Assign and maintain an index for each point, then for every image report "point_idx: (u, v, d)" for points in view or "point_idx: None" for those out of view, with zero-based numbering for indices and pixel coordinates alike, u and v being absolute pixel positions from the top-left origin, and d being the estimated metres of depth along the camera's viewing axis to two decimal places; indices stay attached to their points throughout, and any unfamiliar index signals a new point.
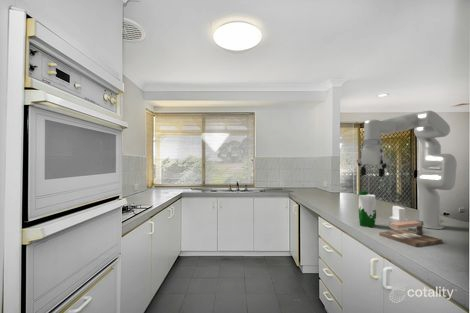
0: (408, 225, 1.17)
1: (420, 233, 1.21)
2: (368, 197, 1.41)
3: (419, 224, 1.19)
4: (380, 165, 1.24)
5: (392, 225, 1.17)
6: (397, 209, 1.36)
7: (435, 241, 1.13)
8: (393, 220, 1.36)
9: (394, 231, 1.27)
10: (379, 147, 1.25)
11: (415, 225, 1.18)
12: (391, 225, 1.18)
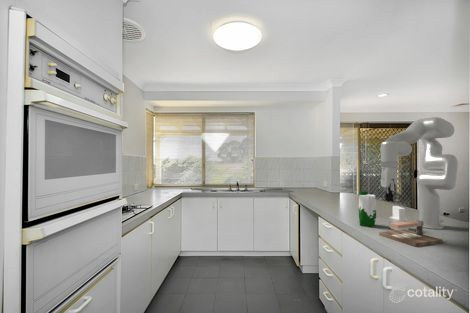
0: (408, 225, 1.17)
1: (420, 233, 1.21)
2: (368, 197, 1.41)
3: (419, 224, 1.19)
4: None
5: (392, 225, 1.17)
6: (397, 209, 1.36)
7: (435, 241, 1.13)
8: (393, 220, 1.36)
9: (394, 231, 1.27)
10: None
11: (415, 225, 1.18)
12: (391, 225, 1.18)
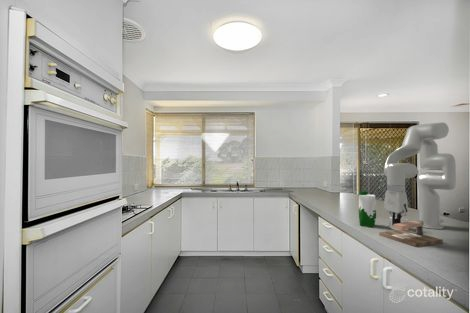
0: (411, 226, 1.16)
1: (420, 233, 1.21)
2: (368, 197, 1.41)
3: (420, 224, 1.19)
4: None
5: (396, 226, 1.15)
6: None
7: (435, 241, 1.13)
8: None
9: (394, 231, 1.27)
10: None
11: (417, 225, 1.18)
12: (395, 226, 1.16)
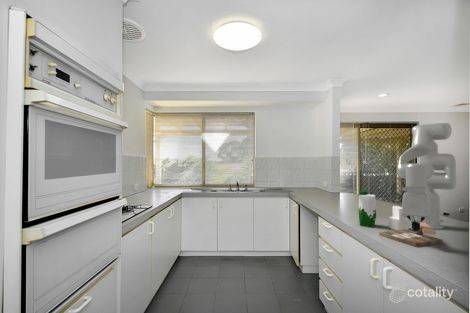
0: None
1: (420, 233, 1.21)
2: (368, 197, 1.41)
3: None
4: None
5: (428, 231, 1.07)
6: (397, 209, 1.36)
7: (435, 241, 1.13)
8: (393, 220, 1.36)
9: (394, 231, 1.27)
10: None
11: None
12: (426, 232, 1.07)
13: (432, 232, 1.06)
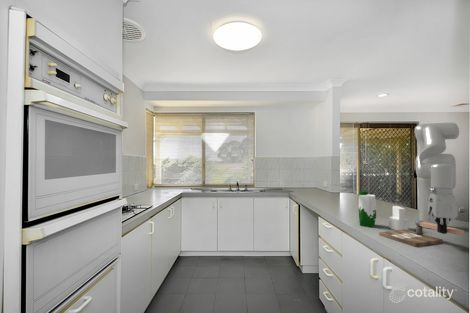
0: None
1: (420, 233, 1.21)
2: (368, 197, 1.41)
3: None
4: None
5: (460, 232, 1.05)
6: (397, 209, 1.36)
7: (435, 241, 1.13)
8: (393, 220, 1.36)
9: (394, 231, 1.27)
10: (430, 196, 1.10)
11: None
12: (459, 233, 1.05)
13: (462, 232, 1.06)
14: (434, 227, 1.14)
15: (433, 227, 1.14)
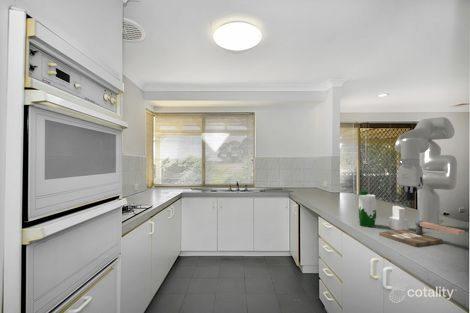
0: None
1: (420, 233, 1.21)
2: (368, 197, 1.41)
3: None
4: None
5: (460, 232, 1.05)
6: (397, 209, 1.36)
7: (435, 241, 1.13)
8: (393, 220, 1.36)
9: (394, 231, 1.27)
10: None
11: None
12: (460, 233, 1.05)
13: (463, 232, 1.06)
14: (434, 227, 1.14)
15: (433, 227, 1.14)
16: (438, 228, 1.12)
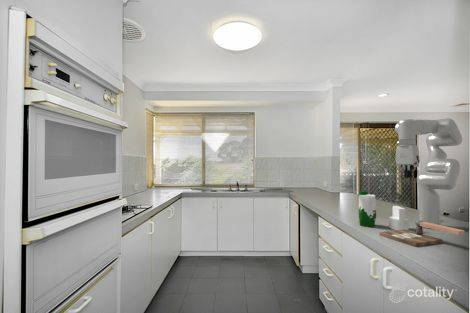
0: None
1: (420, 233, 1.21)
2: (368, 197, 1.41)
3: None
4: None
5: (460, 232, 1.05)
6: (397, 209, 1.36)
7: (435, 241, 1.13)
8: (393, 220, 1.36)
9: (394, 231, 1.27)
10: None
11: None
12: (460, 233, 1.05)
13: (463, 232, 1.06)
14: (434, 227, 1.14)
15: (433, 227, 1.14)
16: (438, 228, 1.12)
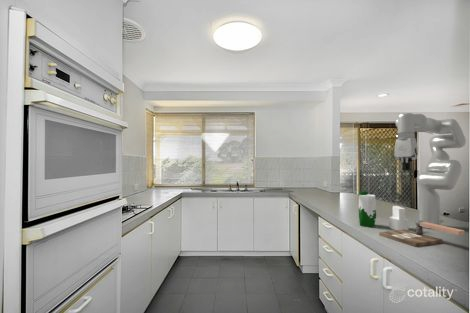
0: None
1: (420, 233, 1.21)
2: (368, 197, 1.41)
3: None
4: None
5: (460, 232, 1.05)
6: (397, 209, 1.36)
7: (435, 241, 1.13)
8: (393, 220, 1.36)
9: (394, 231, 1.27)
10: None
11: None
12: (460, 233, 1.05)
13: (463, 232, 1.06)
14: (434, 227, 1.14)
15: (433, 227, 1.14)
16: (438, 228, 1.12)
